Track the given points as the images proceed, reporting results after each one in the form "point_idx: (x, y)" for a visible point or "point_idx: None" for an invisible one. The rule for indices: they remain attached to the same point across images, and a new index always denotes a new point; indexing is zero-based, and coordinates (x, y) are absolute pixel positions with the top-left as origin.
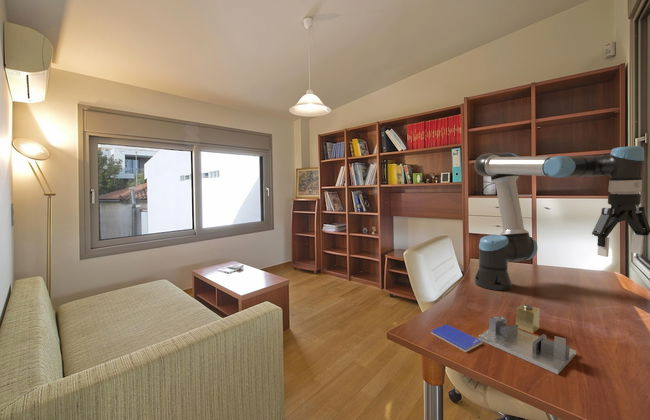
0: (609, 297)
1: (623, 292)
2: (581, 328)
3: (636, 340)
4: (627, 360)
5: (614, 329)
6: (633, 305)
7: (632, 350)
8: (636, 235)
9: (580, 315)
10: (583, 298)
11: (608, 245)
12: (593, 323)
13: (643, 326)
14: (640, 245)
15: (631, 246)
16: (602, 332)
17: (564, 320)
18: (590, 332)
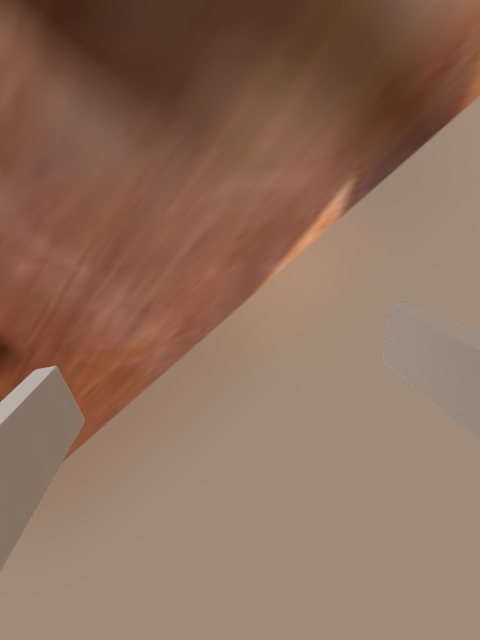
0: (354, 94)
1: (457, 44)
2: (79, 312)
3: (165, 358)
4: (87, 415)
5: (159, 316)
6: (353, 177)
7: (123, 389)
8: None
9: (130, 239)
10: (252, 91)
11: (16, 532)
12: (131, 287)
13: (241, 303)
14: (443, 408)
15: (433, 331)
16: (118, 329)
17: (58, 269)
18: (88, 330)
